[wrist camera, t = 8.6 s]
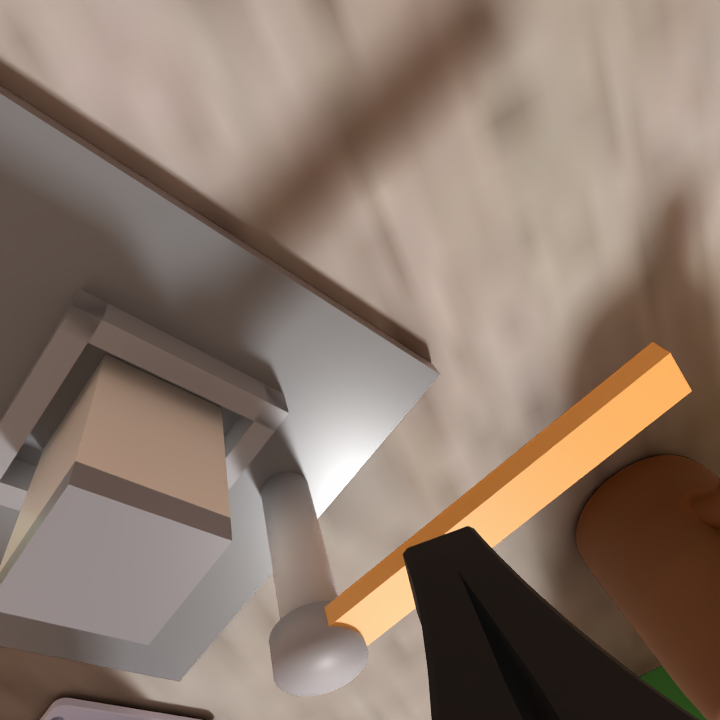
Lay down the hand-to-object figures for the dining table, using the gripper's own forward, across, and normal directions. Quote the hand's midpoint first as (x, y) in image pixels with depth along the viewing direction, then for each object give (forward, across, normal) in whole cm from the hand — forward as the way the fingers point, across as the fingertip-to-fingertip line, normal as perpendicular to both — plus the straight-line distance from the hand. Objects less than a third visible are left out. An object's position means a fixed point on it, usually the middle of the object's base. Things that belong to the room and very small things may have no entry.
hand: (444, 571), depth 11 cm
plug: (+10, +7, +1) cm, 12 cm away
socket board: (+10, +9, +1) cm, 14 cm away
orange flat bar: (+3, -2, +3) cm, 5 cm away
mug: (+11, -13, +13) cm, 21 cm away
